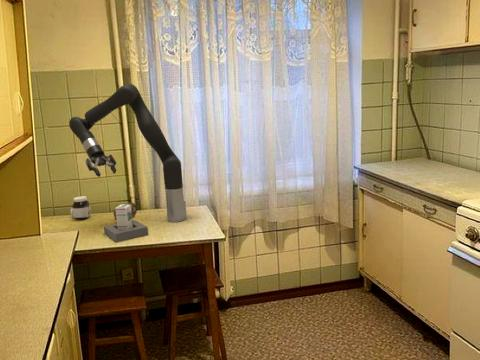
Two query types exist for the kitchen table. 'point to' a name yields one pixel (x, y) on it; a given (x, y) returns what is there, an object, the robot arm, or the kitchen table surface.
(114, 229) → the gray square frame
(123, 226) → the syrup box
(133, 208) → the brown lumpy slab
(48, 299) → the kitchen table surface
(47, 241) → the kitchen table surface
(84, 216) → the spread jar
